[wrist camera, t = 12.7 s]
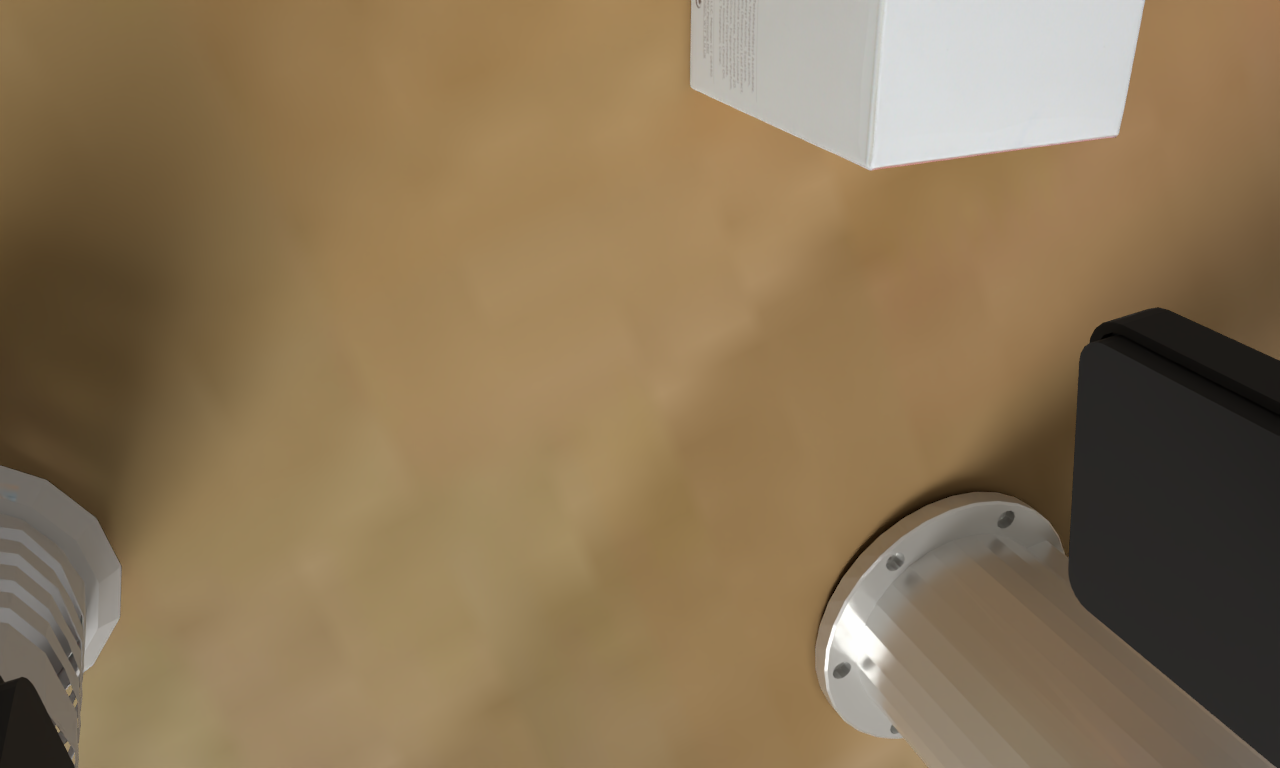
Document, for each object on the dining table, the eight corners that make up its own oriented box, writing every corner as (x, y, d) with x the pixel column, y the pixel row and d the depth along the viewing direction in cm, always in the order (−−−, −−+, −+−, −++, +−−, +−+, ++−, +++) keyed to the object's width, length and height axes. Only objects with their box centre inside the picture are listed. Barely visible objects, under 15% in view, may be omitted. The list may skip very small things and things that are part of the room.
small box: (684, 87, 36) (861, 176, 27) (686, -105, 33) (884, -75, 25) (900, 68, 38) (1125, 143, 30) (917, -111, 36) (1169, -87, 27)
